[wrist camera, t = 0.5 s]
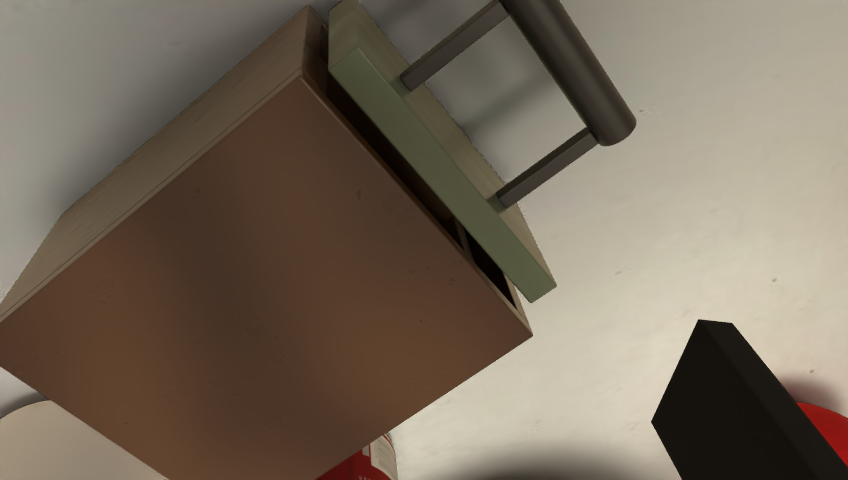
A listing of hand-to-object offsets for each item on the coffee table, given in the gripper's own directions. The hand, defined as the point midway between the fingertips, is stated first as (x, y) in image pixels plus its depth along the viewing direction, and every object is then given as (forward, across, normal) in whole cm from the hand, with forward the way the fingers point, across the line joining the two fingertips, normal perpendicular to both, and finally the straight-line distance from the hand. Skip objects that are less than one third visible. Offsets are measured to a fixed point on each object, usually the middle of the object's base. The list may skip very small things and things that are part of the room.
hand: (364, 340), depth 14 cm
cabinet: (+20, -2, -8) cm, 21 cm away
